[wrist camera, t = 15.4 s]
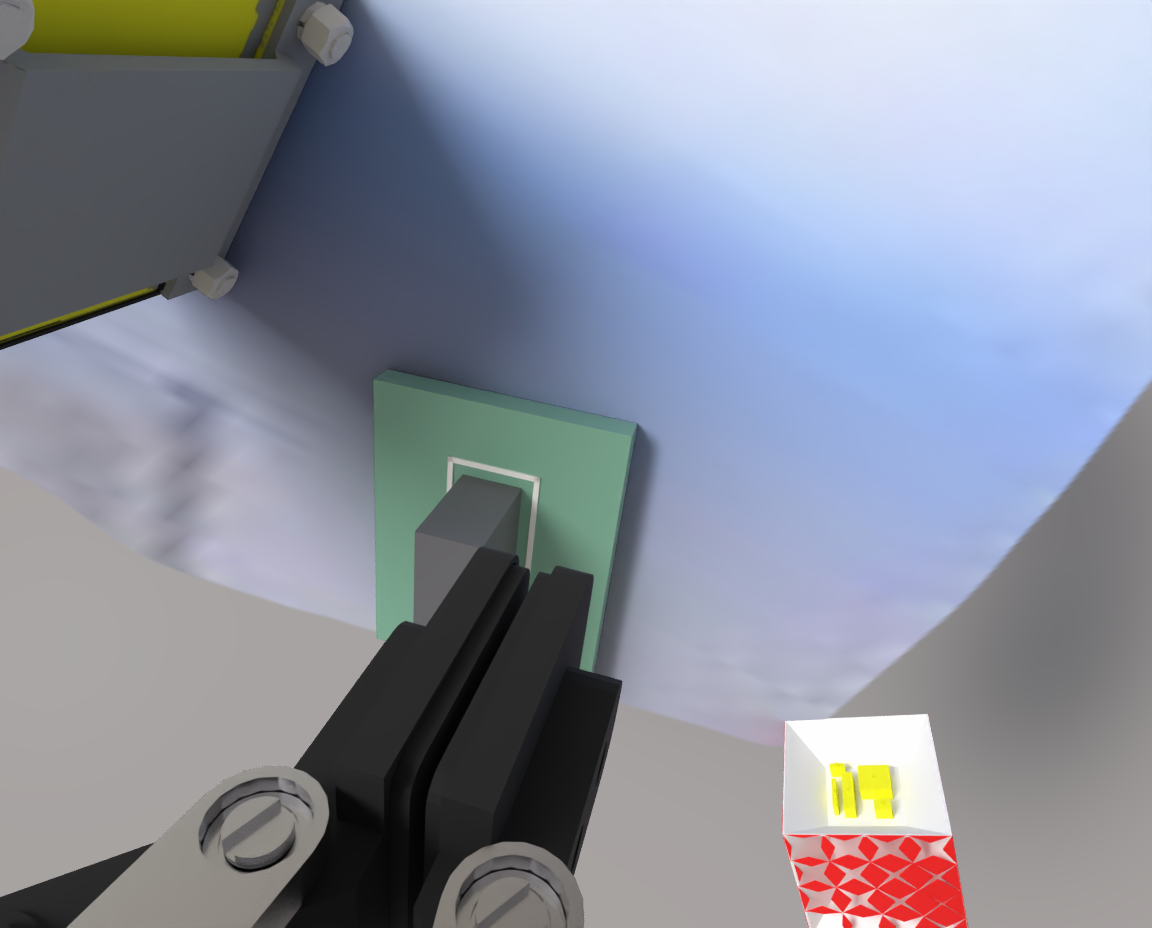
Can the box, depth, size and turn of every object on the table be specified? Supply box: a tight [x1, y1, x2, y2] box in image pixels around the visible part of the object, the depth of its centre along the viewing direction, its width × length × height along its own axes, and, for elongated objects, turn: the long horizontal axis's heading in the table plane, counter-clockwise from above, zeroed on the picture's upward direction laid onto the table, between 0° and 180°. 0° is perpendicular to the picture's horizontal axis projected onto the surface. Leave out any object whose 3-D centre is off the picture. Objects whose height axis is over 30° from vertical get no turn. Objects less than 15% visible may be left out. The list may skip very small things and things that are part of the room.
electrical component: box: [0, 0, 354, 350], centre depth 29 cm, size 18×10×20 cm, turn 142°
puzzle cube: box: [782, 714, 968, 928], centre depth 42 cm, size 8×8×8 cm
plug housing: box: [413, 474, 522, 626], centre depth 41 cm, size 3×9×6 cm, turn 173°
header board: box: [373, 369, 638, 673], centre depth 42 cm, size 14×18×5 cm
